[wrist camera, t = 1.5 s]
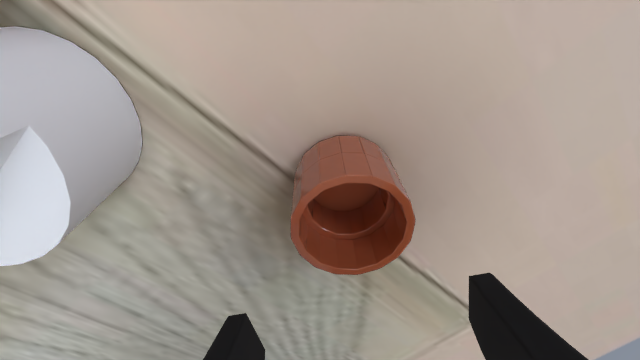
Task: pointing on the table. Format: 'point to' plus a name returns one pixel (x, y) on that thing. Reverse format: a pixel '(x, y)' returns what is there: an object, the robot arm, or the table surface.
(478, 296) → the robot arm
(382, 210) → the pot
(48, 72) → the cylinder with rectangular tab
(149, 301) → the table surface
